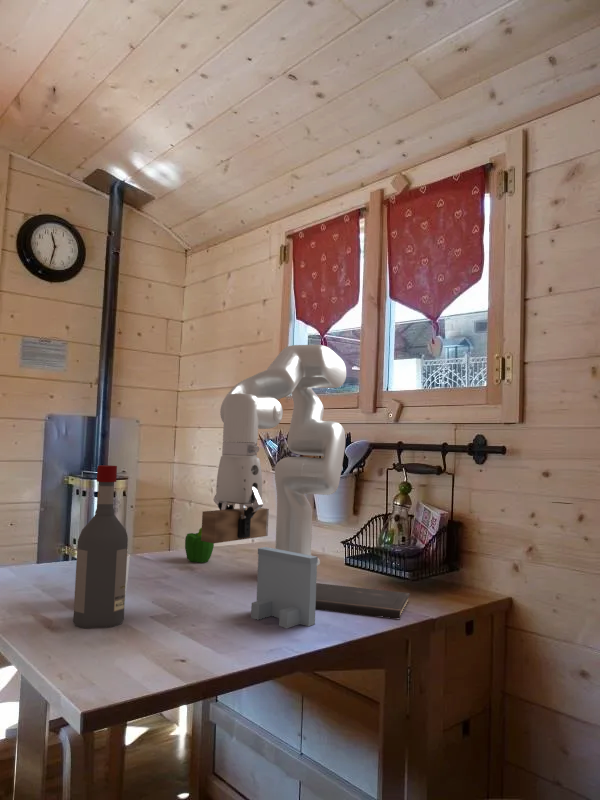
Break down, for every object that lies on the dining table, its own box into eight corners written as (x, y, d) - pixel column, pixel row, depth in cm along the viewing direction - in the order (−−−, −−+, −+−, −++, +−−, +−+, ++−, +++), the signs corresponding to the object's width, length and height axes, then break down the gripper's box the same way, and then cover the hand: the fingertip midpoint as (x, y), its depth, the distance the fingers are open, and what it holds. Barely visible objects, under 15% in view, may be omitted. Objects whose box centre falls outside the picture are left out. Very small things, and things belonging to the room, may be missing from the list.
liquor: (72, 629, 113) (81, 466, 115) (75, 615, 122) (84, 464, 123) (123, 627, 115) (131, 467, 117) (123, 613, 124) (131, 465, 126)
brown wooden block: (254, 533, 139) (255, 506, 139) (267, 535, 136) (268, 508, 136) (201, 540, 126) (202, 511, 127) (214, 543, 124) (215, 513, 124)
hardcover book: (314, 592, 149) (315, 582, 149) (409, 603, 142) (409, 593, 142) (294, 609, 134) (294, 598, 134) (399, 622, 127) (400, 610, 127)
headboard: (263, 609, 130) (265, 546, 131) (315, 623, 122) (317, 556, 122) (242, 615, 125) (245, 550, 126) (296, 630, 117) (298, 560, 118)
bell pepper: (182, 559, 180) (184, 524, 180) (210, 558, 182) (211, 524, 183) (185, 565, 172) (187, 529, 172) (215, 564, 174) (216, 528, 175)
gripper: (280, 452, 130) (276, 539, 129) (225, 449, 141) (221, 529, 139) (255, 452, 124) (251, 543, 123) (200, 448, 135) (196, 532, 134)
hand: (235, 535), depth 131 cm, fingers closed on brown wooden block, 4 cm apart
